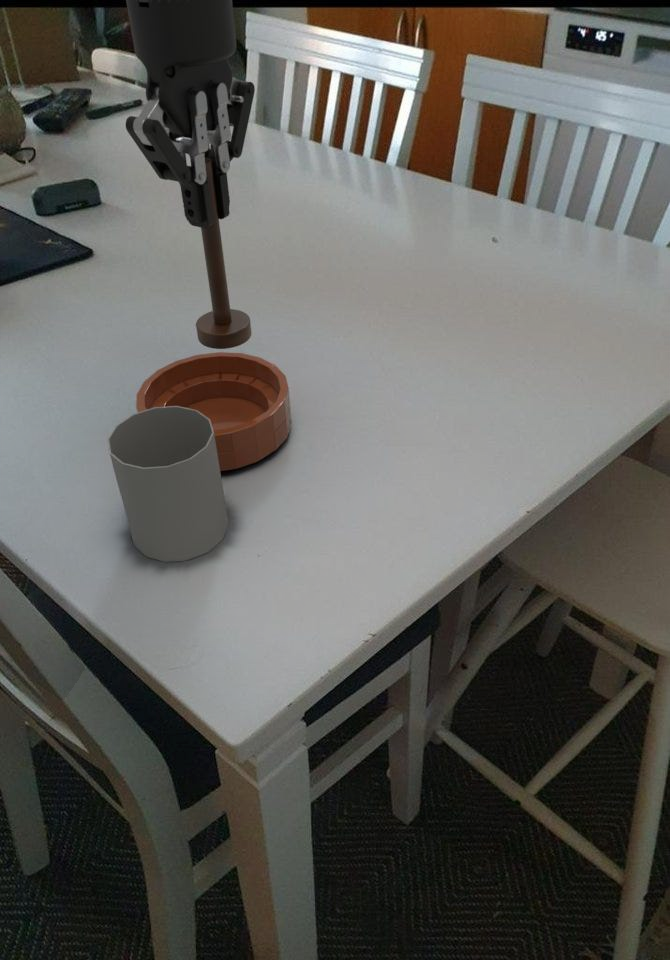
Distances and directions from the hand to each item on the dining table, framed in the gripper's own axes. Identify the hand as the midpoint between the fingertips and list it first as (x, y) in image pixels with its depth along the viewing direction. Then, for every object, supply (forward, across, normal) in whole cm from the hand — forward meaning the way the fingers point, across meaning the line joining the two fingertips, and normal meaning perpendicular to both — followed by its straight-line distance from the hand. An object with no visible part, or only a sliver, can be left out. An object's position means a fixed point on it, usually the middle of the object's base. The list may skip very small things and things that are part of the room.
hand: (209, 220), depth 69 cm
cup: (+22, +14, +5) cm, 27 cm away
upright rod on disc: (+11, 0, 0) cm, 11 cm away
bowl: (+22, +2, -1) cm, 22 cm away
